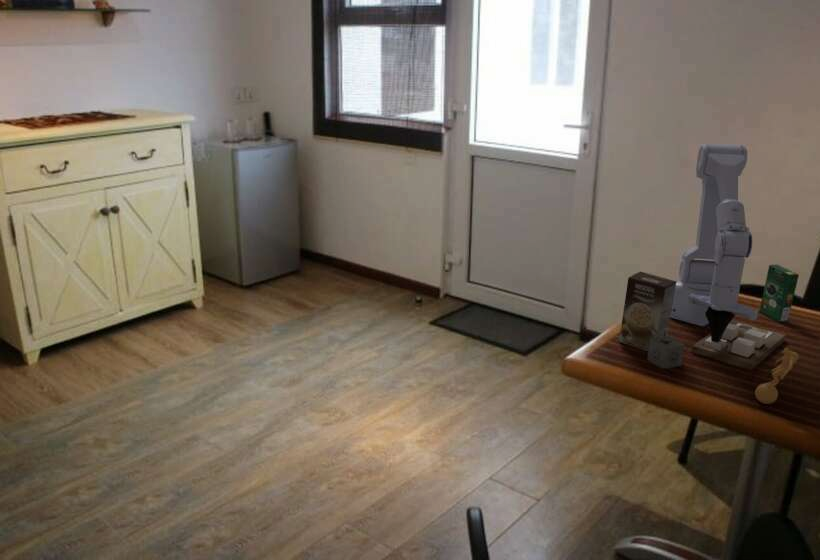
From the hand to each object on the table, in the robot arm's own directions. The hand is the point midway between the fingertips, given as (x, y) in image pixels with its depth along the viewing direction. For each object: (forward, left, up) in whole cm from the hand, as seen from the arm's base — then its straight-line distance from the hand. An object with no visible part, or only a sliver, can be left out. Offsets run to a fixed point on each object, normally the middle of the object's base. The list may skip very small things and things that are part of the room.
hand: (715, 340), depth 164 cm
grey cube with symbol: (-6, -14, -3) cm, 15 cm away
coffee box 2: (+2, +34, -3) cm, 34 cm away
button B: (+6, +7, -1) cm, 9 cm away
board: (+3, +8, -3) cm, 9 cm away
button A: (0, +7, -1) cm, 7 cm away
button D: (+6, 0, -1) cm, 6 cm away
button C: (0, 0, -2) cm, 2 cm away
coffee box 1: (-14, -8, -3) cm, 16 cm away
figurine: (+17, -17, -3) cm, 25 cm away
